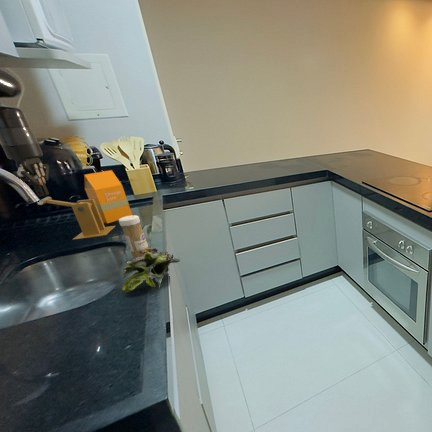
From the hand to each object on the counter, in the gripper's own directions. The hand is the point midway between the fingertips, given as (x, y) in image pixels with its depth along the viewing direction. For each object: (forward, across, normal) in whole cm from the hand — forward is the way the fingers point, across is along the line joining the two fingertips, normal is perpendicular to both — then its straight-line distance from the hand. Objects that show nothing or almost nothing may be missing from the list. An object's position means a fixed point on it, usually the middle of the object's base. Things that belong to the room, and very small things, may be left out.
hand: (43, 195), depth 98 cm
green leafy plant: (+16, +46, +38) cm, 62 cm away
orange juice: (+16, -15, +10) cm, 24 cm away
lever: (+5, 0, +4) cm, 6 cm away
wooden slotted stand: (+16, 0, +9) cm, 19 cm away
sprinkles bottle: (+16, +28, +30) cm, 44 cm away
